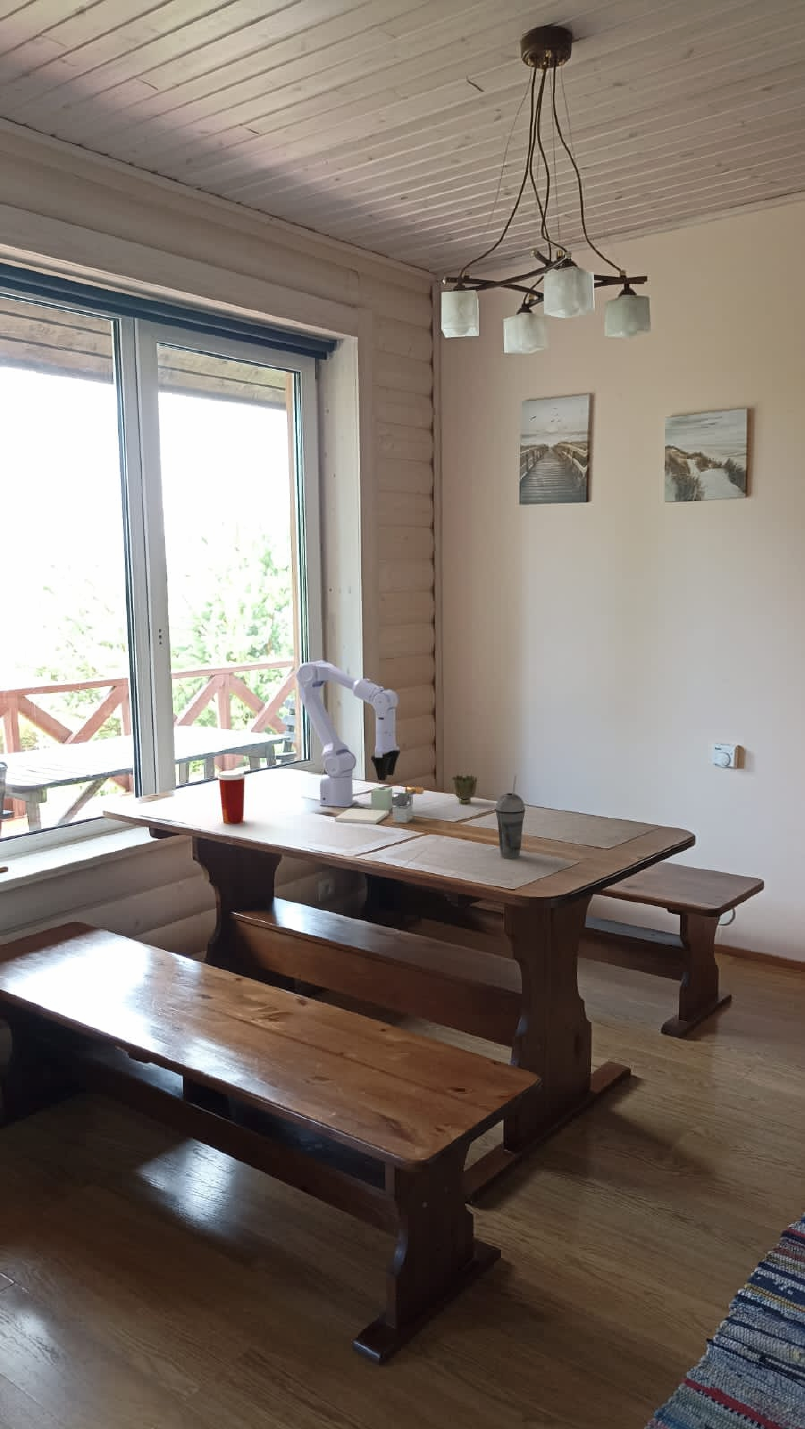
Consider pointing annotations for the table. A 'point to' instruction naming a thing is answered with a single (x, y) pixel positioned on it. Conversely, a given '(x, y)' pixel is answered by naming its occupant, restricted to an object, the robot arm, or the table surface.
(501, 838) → the beverage cup
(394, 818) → the white square planter
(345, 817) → the plate
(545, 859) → the table surface
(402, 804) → the press lever
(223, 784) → the paper cup
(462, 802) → the cup
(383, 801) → the block
